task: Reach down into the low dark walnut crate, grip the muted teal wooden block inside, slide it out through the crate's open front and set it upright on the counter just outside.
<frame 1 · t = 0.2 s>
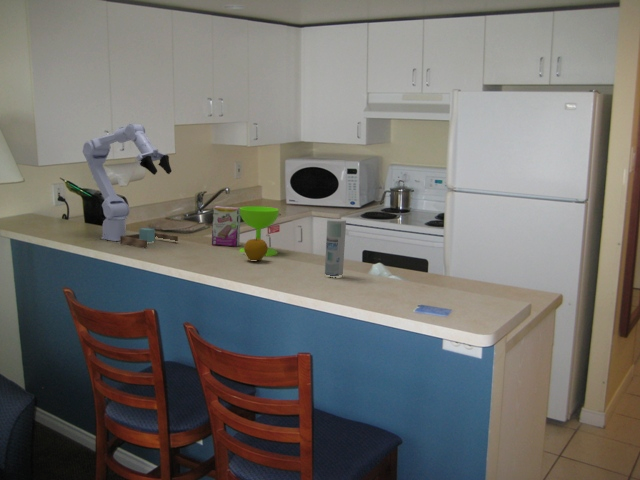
hand: (162, 172, 266), 31 cm above the countertop, tool tilted 45°, fingers open, 7 cm apart
apple: (255, 261, 253), on the countertop
wineglass: (257, 253, 271), on the countertop
walnut crate: (149, 243, 280), on the countertop
teal block: (146, 243, 281), on the countertop
spray can: (333, 277, 232), on the countertop
candy bar box: (225, 245, 284), on the countertop
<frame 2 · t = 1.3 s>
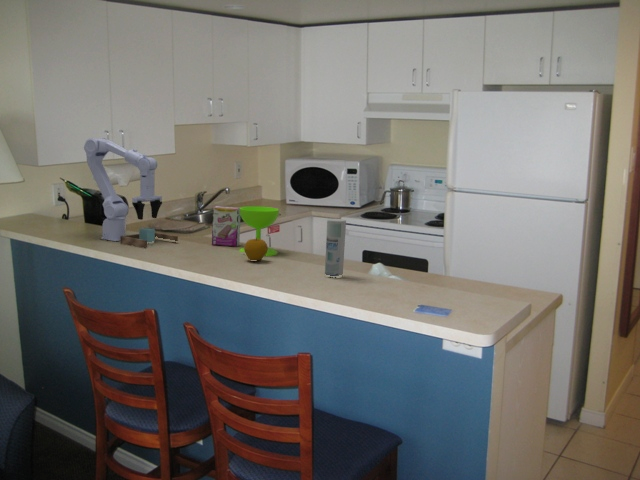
hand: (147, 218, 279), 10 cm above the countertop, tool pointing down, fingers open, 7 cm apart
nothing on the countertop moved.
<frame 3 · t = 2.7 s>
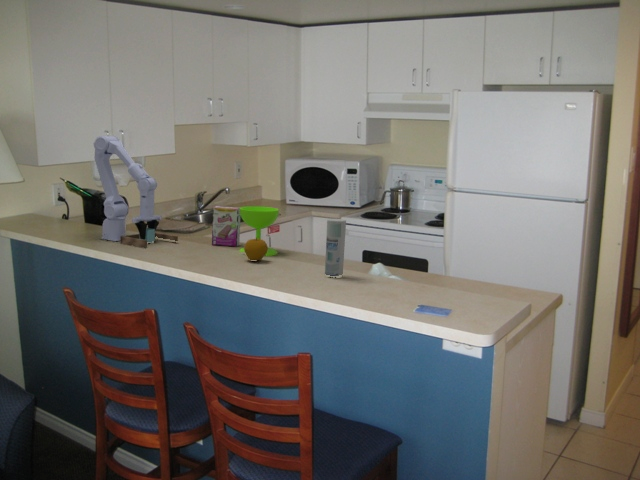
hand: (146, 238, 280), 2 cm above the countertop, tool pointing down, fingers closed on teal block, 4 cm apart
teal block: (146, 242, 281), on the countertop, touching gripper
everything else where it was.
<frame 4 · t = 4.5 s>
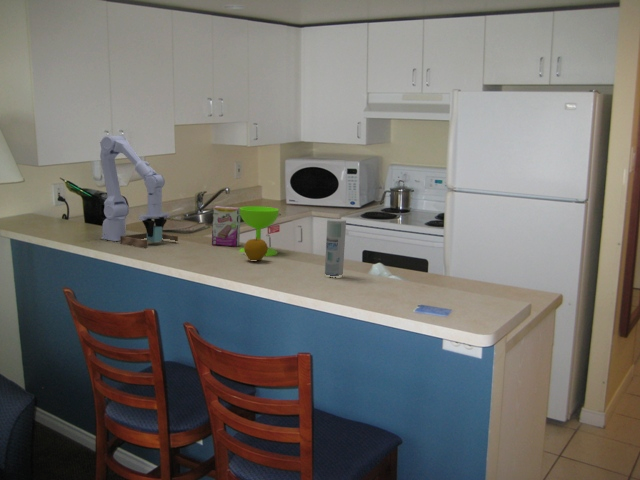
hand: (154, 236, 278), 3 cm above the countertop, tool pointing down, fingers closed on teal block, 4 cm apart
teal block: (154, 240, 278), point 2 cm above the countertop, touching gripper
everything else where it was.
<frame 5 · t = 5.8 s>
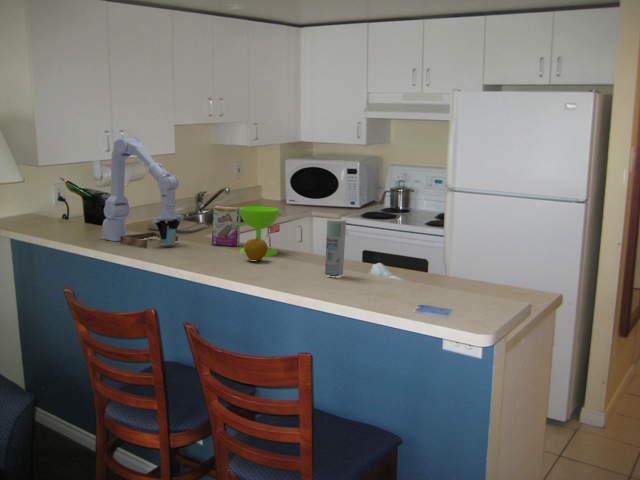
hand: (167, 238, 274), 3 cm above the countertop, tool pointing down, fingers closed on teal block, 4 cm apart
teal block: (167, 243, 274), point 1 cm above the countertop, touching gripper
everything else where it was.
when the fingers open (2 cm above the countertop, at t = 6.7 s): teal block stays where it is, on the countertop.
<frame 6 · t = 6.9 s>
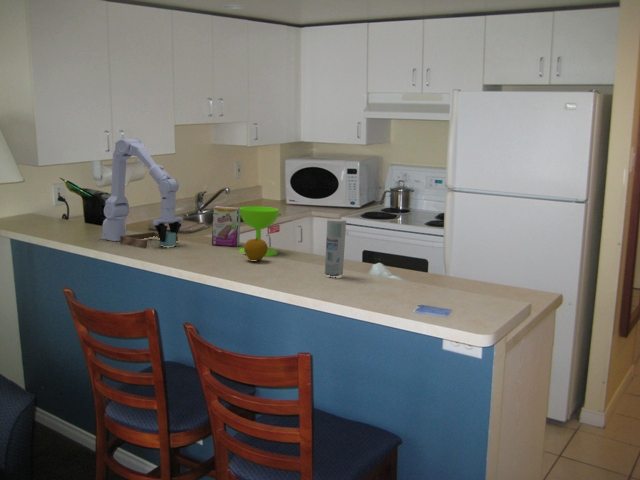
hand: (167, 241, 274), 2 cm above the countertop, tool pointing down, fingers open, 5 cm apart
teal block: (167, 247, 274), on the countertop
everything else where it was.
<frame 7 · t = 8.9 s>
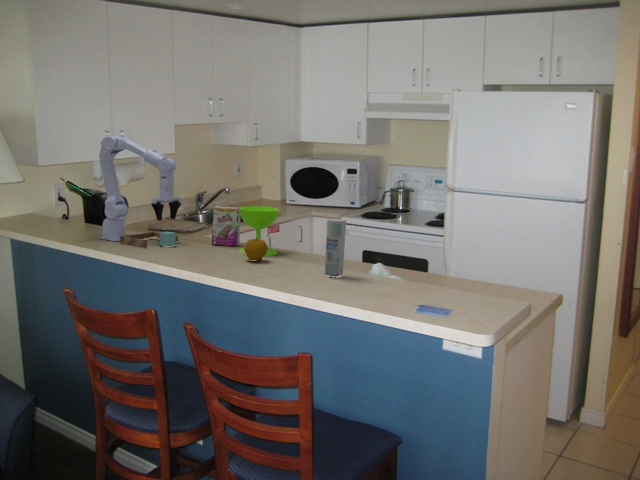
hand: (166, 219, 279), 10 cm above the countertop, tool pointing down, fingers open, 7 cm apart
nothing on the countertop moved.
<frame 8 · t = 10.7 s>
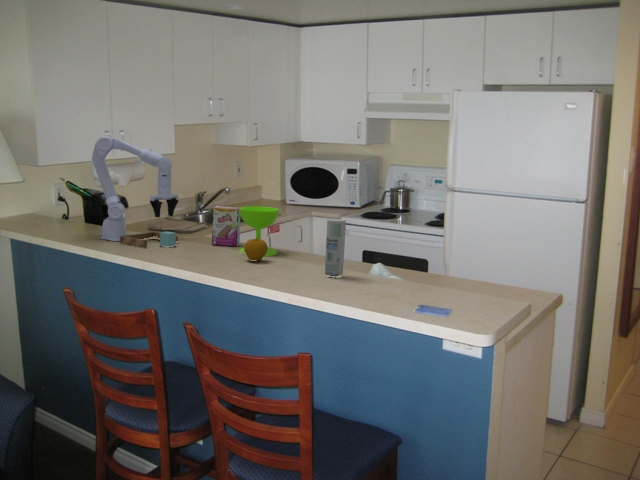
hand: (164, 216, 288), 10 cm above the countertop, tool pointing down, fingers open, 7 cm apart
nothing on the countertop moved.
at the end: teal block 0.5 cm from the target spot, on the countertop; teal block tilted 0°; the gripper is holding nothing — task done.
